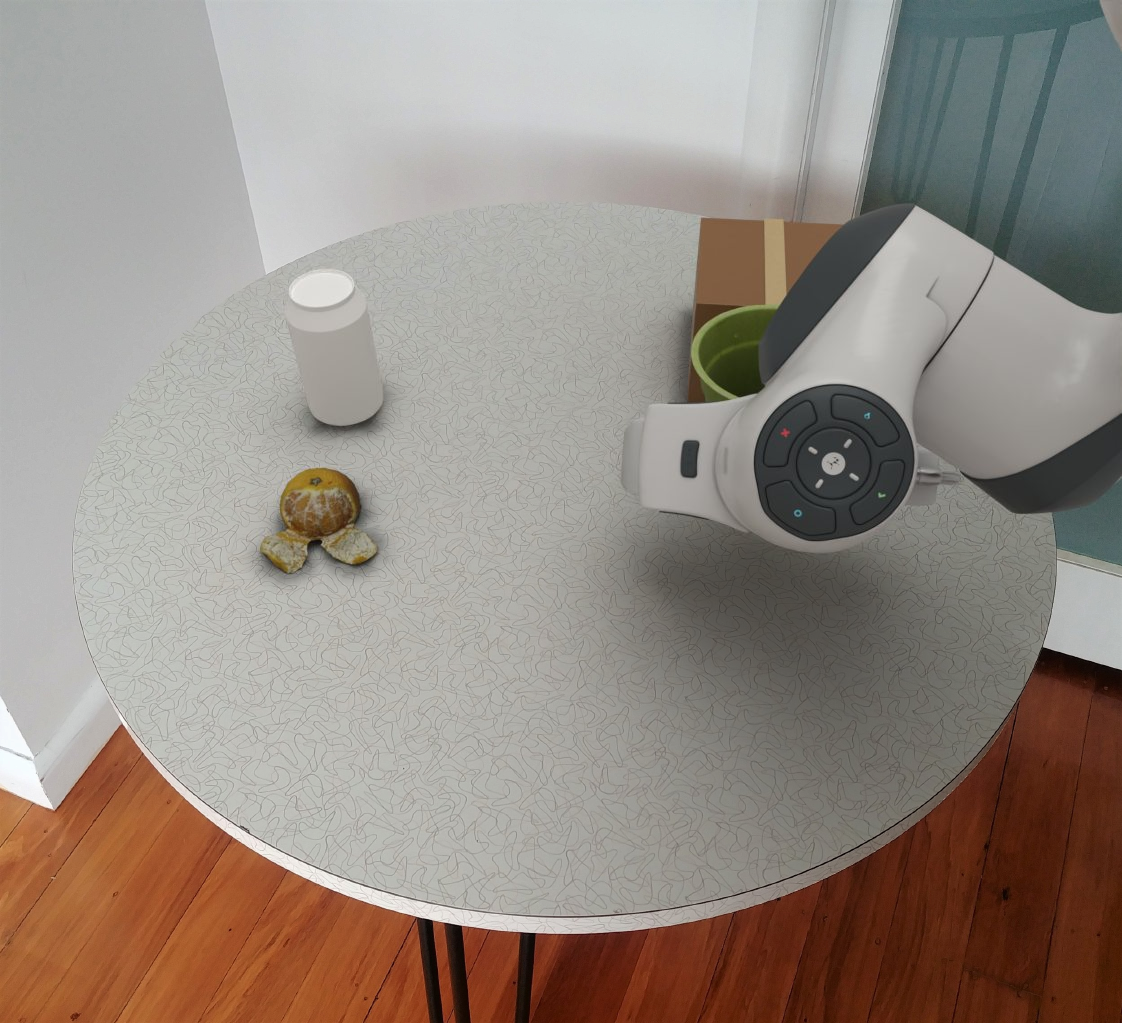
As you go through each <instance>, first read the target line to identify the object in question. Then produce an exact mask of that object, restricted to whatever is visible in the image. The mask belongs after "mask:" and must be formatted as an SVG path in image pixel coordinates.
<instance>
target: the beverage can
mask: <svg viewBox="0 0 1122 1023" xmlns="http://www.w3.org/2000/svg"><path fill="white" fill-rule="evenodd" d="M284 317H285V321H286V326H287V329H288V333H289V337H290V339H291V340H290V341H291V344H292V348H293V352H294V356H295V360H296V364H297V369H298V371H299V376H300V380H301V383H302V387H303V391H304V395H305V398H306V402H307V405H308V409H309V411H310V413H311V415H312V416H313V417H314V418H315V419H316V420H318V421H319V422H321V423H324V424H327V425H330V426H337V427H344V426H352V425H355V424H359V423H362V422H364V421H366V420H368V419H370V418H371V417H373V416H374V415H375V414H376V413H377V412H378V411H379V410H380V408H381V407H382V405H383V402H384V388H383V383H382V377H381V372H380V366H379V361H378V356H377V355H378V354H377V348H376V344H375V338H374V334H373V328H372V323H371V317H370V313H369V306H368V301H367V298H366V295H365V294H364V293H363V292H362V291H361V290H360V289H359V288H358V286H357V285H356V284H355V280H354V279H353V277H352V276H351V275H350V274H349V273H347V272H346V271H343V270H339V269H335V268H319V269H314V270H310V271H308V272H305V273H302V274H301V275H299V276H298V277H296V278H295V279H294V280H293V281H292V282H291V283H290V284H289V287H288V298H287V302H286V304H285V307H284Z"/></svg>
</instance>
